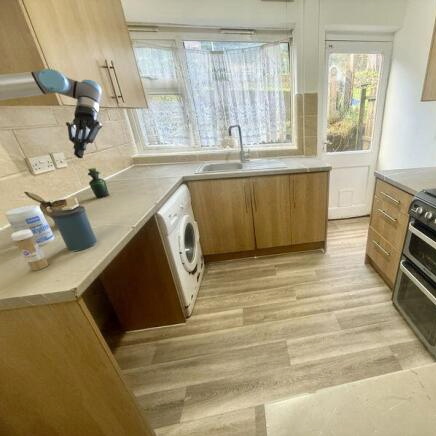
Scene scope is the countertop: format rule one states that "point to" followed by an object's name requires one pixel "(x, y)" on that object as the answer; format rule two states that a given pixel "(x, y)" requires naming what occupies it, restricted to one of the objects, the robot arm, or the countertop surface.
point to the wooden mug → (47, 204)
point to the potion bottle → (97, 184)
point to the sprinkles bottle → (30, 249)
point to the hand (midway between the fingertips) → (78, 156)
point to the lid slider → (70, 204)
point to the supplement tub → (31, 223)
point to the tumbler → (74, 228)
